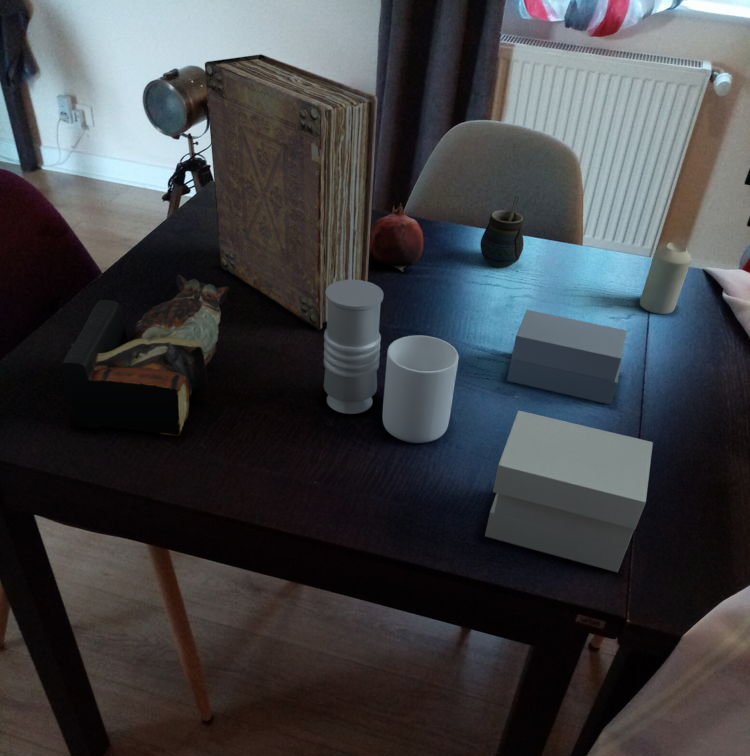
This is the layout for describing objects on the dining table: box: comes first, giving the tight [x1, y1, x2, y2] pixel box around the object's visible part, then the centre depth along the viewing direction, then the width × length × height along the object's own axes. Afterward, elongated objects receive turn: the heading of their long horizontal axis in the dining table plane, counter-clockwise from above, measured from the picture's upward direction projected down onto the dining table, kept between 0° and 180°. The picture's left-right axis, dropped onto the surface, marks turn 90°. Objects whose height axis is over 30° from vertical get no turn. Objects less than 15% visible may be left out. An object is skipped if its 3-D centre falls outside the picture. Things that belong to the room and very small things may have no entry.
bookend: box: [61, 274, 230, 437], centre depth 98 cm, size 15×11×25 cm
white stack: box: [484, 493, 635, 573], centre depth 82 cm, size 14×8×7 cm, turn 71°
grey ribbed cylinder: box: [323, 280, 385, 415], centre depth 96 cm, size 7×7×15 cm
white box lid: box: [492, 410, 654, 530], centre depth 79 cm, size 14×10×4 cm
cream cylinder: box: [639, 241, 693, 315], centre depth 122 cm, size 6×6×10 cm
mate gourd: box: [479, 196, 525, 268], centre depth 131 cm, size 7×8×10 cm
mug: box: [381, 334, 460, 444], centre depth 95 cm, size 12×8×10 cm
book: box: [204, 53, 378, 331], centre depth 112 cm, size 25×9×30 cm, turn 42°
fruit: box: [369, 202, 424, 273], centre depth 128 cm, size 9×10×10 cm
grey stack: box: [506, 309, 628, 405], centre depth 105 cm, size 14×8×7 cm, turn 71°
